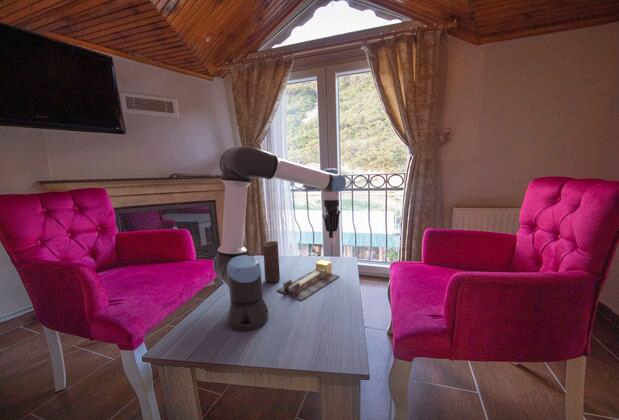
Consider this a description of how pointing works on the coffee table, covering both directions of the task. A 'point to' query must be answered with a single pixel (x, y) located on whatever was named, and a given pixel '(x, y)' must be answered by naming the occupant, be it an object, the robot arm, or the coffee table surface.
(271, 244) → the brown wooden block
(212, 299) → the coffee table surface
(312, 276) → the bar
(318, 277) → the tongs base
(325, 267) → the collar
